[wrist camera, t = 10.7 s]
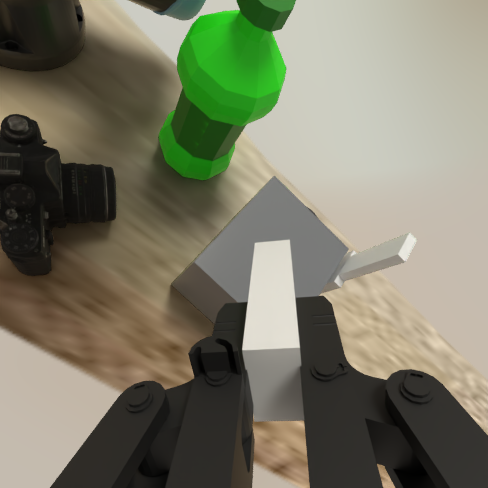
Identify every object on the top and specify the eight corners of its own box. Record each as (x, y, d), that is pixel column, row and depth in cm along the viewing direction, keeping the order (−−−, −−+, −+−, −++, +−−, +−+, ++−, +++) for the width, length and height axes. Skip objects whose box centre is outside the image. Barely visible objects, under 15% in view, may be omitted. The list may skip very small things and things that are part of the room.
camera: (116, 272, 40) (123, 247, 31) (6, 279, 36) (-22, 252, 27) (111, 164, 43) (115, 115, 35) (10, 158, 39) (-14, 100, 30)
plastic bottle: (182, 112, 50) (252, -82, 28) (238, 161, 51) (347, 12, 29) (136, 153, 45) (175, -41, 23) (198, 206, 46) (292, 68, 24)
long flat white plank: (288, 296, 46) (393, 262, 30) (307, 270, 49) (413, 225, 32) (294, 301, 46) (401, 269, 30) (311, 274, 49) (420, 232, 33)
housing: (170, 284, 42) (193, 261, 32) (247, 202, 49) (285, 164, 40) (250, 357, 43) (296, 356, 33) (313, 265, 51) (365, 243, 41)
